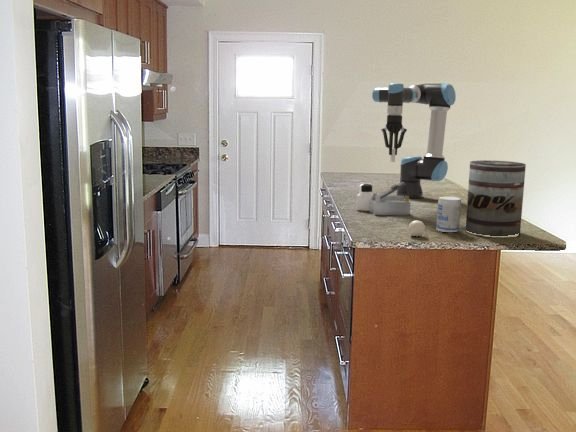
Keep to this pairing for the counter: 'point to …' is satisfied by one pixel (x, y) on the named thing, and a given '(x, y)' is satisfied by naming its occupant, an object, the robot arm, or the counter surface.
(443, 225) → the supplement tub
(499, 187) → the barrel
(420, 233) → the baseball
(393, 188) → the lid
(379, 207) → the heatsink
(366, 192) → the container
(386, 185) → the counter surface
